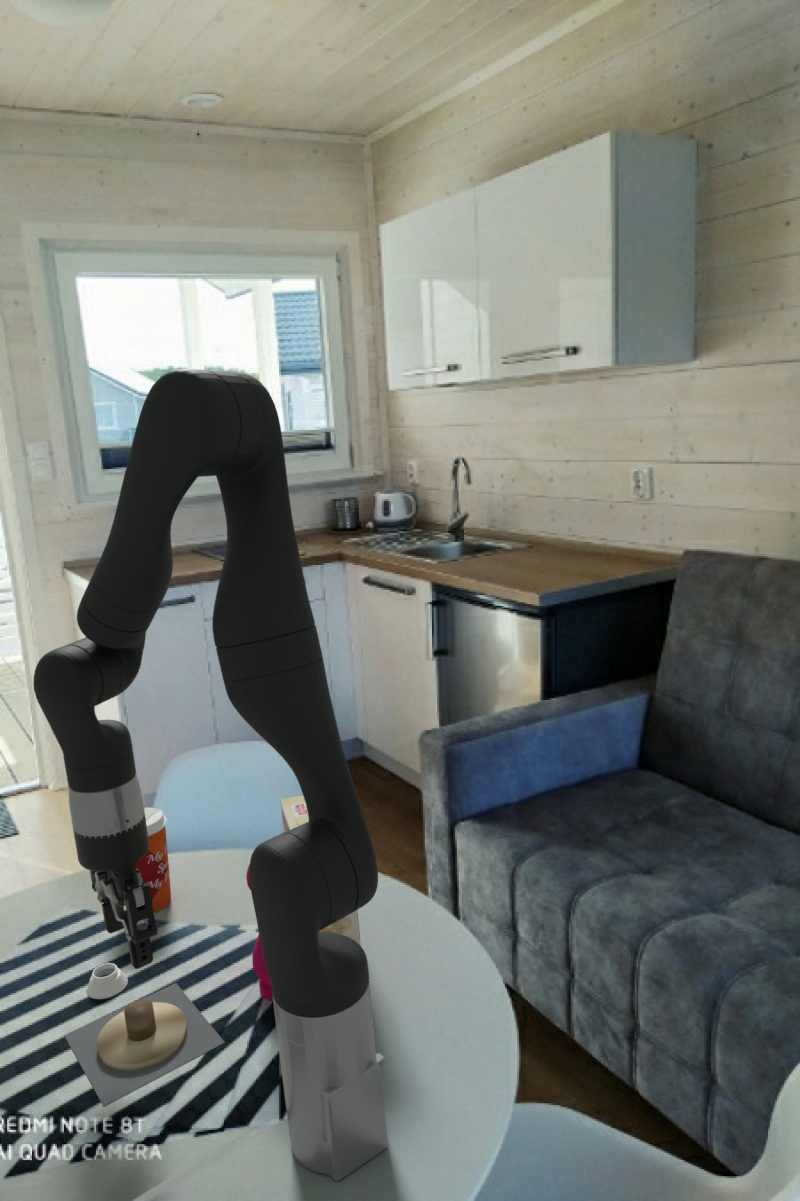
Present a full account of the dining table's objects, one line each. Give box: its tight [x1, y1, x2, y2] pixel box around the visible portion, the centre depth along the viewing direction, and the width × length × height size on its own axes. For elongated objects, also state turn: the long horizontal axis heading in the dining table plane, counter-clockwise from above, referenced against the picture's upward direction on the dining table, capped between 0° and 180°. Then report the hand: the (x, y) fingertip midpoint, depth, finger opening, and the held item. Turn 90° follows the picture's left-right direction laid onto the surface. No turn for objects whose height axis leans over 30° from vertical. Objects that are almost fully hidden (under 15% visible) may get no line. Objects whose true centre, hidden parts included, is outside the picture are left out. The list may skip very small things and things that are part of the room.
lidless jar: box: [85, 962, 129, 1000], centre depth 112 cm, size 5×3×5 cm
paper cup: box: [135, 807, 172, 914], centre depth 130 cm, size 8×8×14 cm
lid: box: [97, 999, 187, 1071], centre depth 102 cm, size 10×10×4 cm
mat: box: [63, 982, 226, 1107], centre depth 103 cm, size 14×14×1 cm
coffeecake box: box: [280, 795, 362, 947], centre depth 115 cm, size 15×7×20 cm, turn 15°
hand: (129, 946), depth 100 cm, fingers open, 8 cm apart
